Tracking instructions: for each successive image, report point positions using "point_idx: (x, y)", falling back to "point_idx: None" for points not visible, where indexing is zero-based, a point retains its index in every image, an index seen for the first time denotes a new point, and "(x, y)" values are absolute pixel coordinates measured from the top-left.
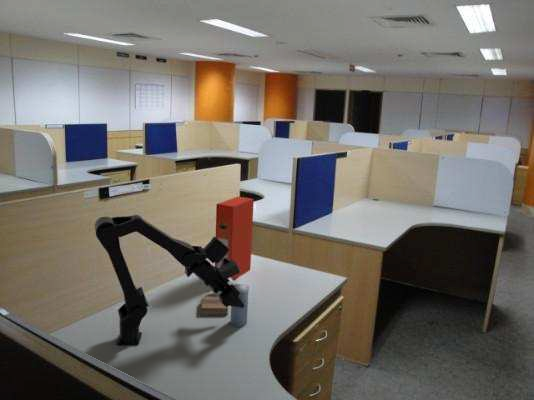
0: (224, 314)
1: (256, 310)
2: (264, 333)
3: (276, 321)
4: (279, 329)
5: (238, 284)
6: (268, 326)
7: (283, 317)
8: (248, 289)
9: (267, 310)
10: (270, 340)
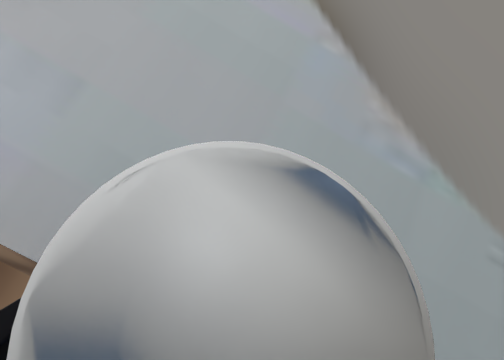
0: None
1: (157, 118)
2: (394, 208)
3: (307, 92)
4: (382, 121)
5: (78, 308)
6: (336, 152)
7: (285, 45)
8: (362, 207)
9: (186, 70)
10: (465, 216)
